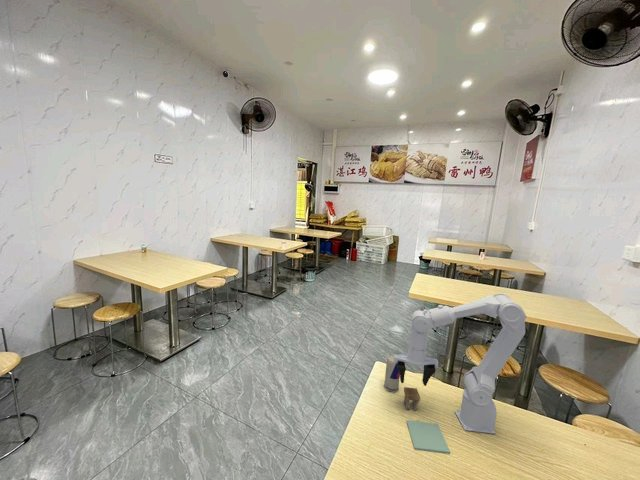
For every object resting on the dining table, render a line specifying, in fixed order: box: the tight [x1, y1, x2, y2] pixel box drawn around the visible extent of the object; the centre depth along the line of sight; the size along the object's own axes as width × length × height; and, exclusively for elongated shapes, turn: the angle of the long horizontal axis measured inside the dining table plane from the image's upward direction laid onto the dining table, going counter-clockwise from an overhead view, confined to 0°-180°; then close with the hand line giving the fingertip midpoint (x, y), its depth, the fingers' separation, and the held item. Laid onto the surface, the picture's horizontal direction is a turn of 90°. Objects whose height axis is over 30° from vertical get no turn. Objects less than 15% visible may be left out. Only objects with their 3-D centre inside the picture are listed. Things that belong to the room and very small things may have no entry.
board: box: [405, 419, 451, 455], centre depth 82 cm, size 10×10×1 cm
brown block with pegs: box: [403, 386, 421, 412], centre depth 93 cm, size 4×4×6 cm
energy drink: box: [383, 354, 400, 393], centre depth 102 cm, size 5×5×12 cm
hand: (412, 382), depth 93 cm, fingers open, 7 cm apart
